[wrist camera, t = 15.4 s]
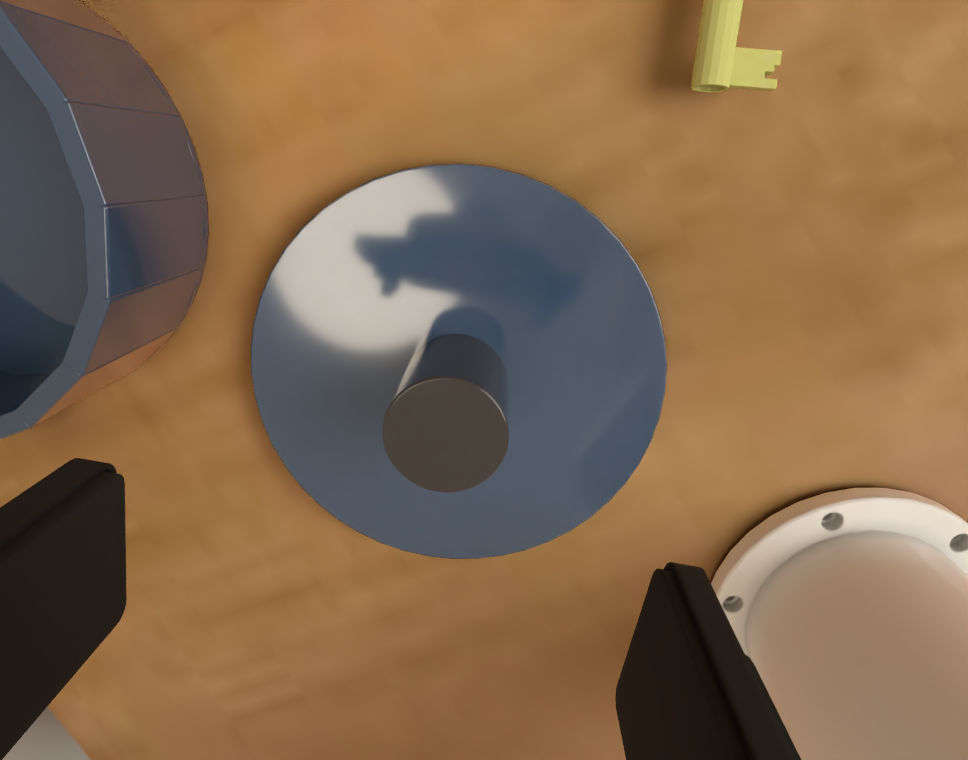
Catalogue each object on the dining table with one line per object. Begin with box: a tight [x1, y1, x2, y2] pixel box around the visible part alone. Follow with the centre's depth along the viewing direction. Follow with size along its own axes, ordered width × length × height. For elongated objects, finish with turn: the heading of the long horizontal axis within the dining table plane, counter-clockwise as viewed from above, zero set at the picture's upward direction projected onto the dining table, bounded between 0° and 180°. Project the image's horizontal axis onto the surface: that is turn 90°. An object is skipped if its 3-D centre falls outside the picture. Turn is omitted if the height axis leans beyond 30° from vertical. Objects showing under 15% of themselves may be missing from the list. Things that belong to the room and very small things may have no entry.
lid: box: [251, 164, 667, 559], centre depth 22 cm, size 16×16×6 cm
